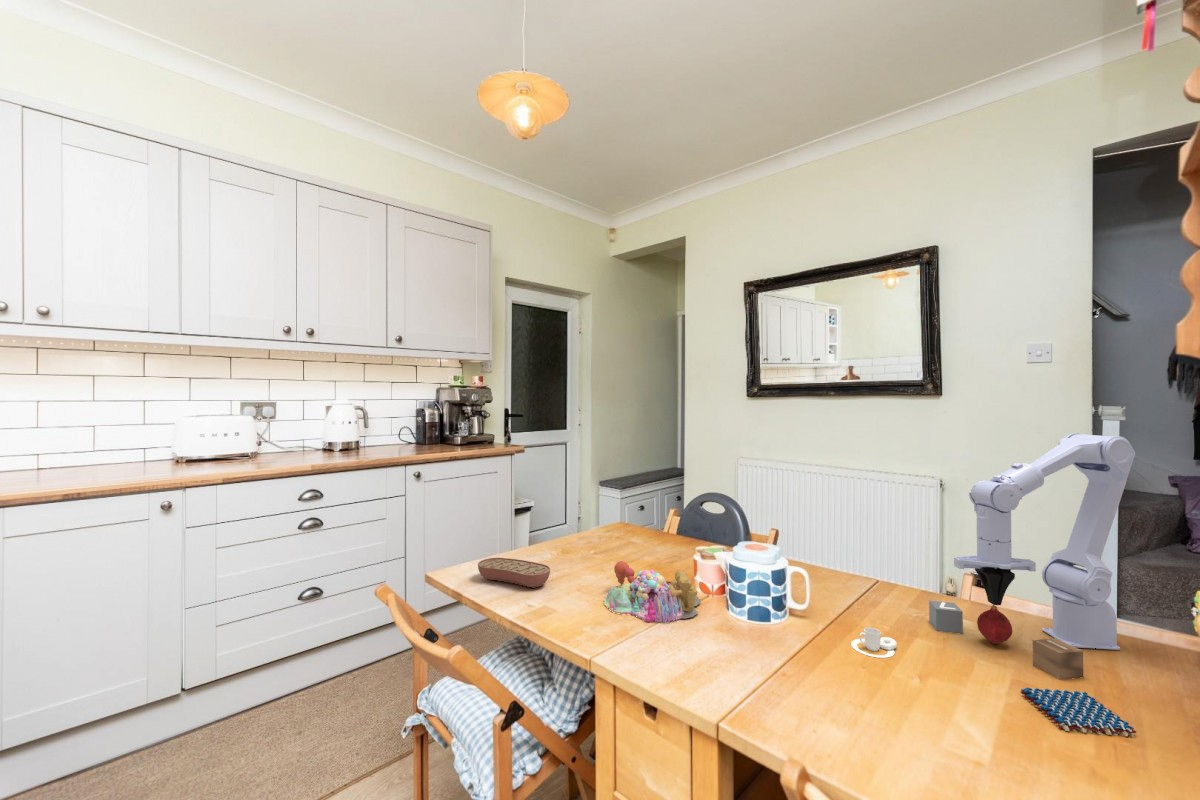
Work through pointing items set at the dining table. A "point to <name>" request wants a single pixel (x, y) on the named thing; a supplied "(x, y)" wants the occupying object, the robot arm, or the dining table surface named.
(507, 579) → the patterned shoe sole
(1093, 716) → the woven mat
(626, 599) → the candy landscape model
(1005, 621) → the onion
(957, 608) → the slate grey block
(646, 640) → the dining table surface
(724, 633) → the dining table surface
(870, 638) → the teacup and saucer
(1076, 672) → the walnut block
